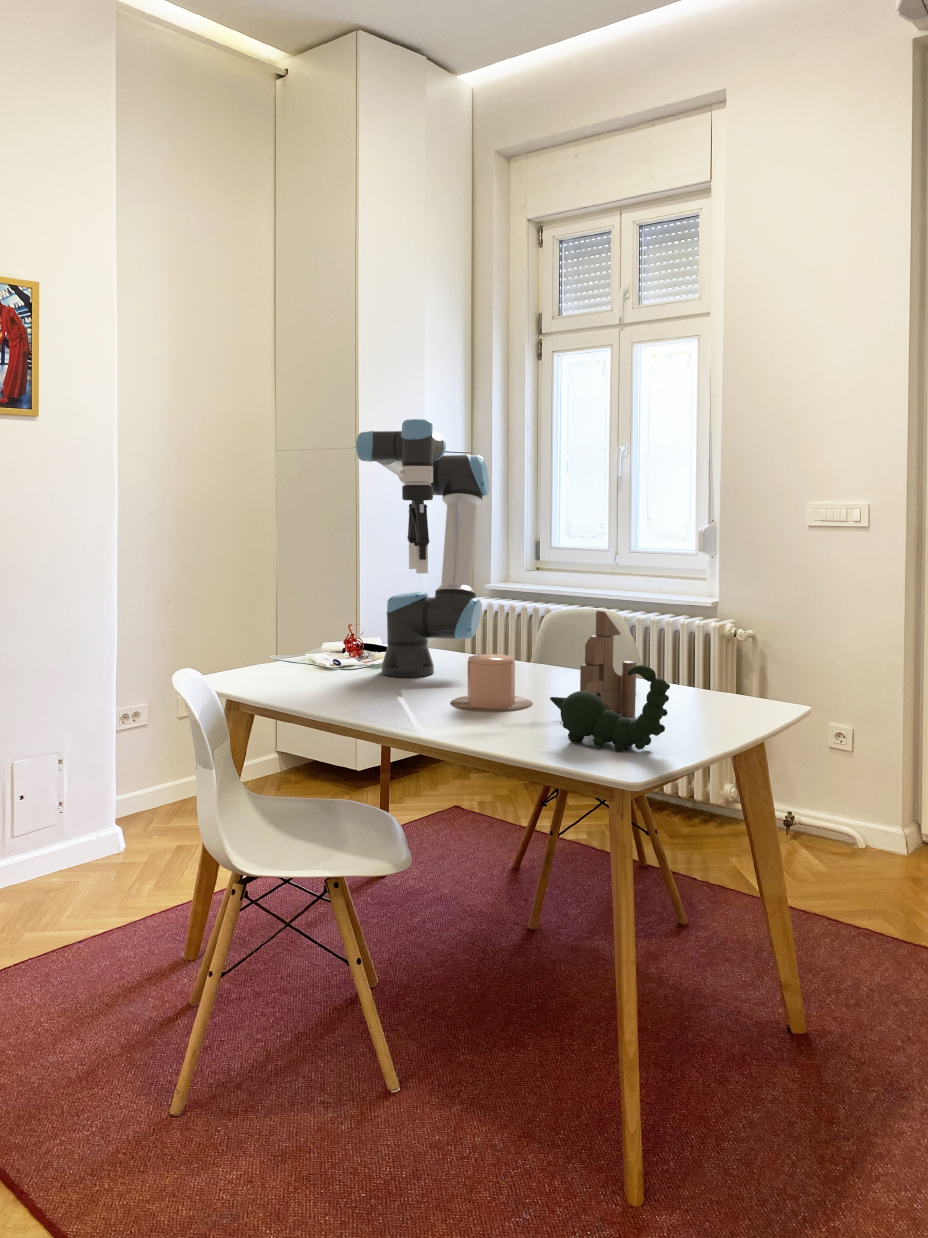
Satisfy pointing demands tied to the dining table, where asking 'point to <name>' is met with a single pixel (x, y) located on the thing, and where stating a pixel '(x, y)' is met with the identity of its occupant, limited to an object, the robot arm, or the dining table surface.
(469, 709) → the walnut board
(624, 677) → the wooden toy
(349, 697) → the dining table surface
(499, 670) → the tan domed cylinder
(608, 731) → the toy figurine
